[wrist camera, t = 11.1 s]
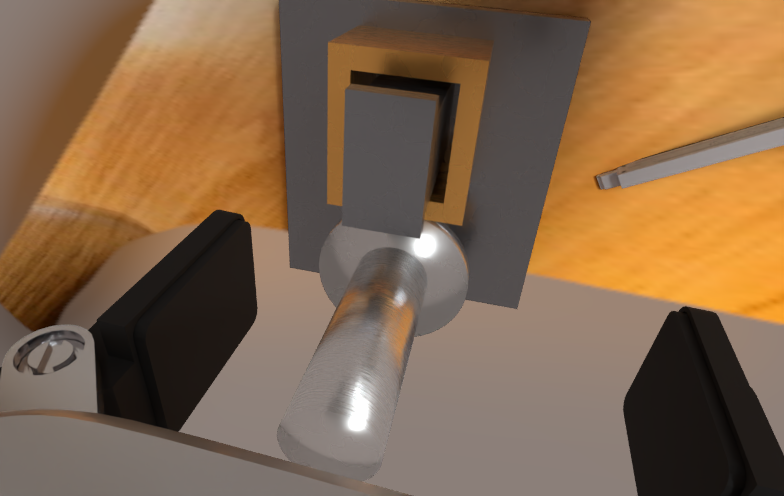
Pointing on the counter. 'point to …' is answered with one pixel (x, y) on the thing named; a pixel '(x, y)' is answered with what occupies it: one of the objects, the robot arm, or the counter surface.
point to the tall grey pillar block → (393, 151)
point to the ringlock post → (446, 205)
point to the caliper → (696, 155)
